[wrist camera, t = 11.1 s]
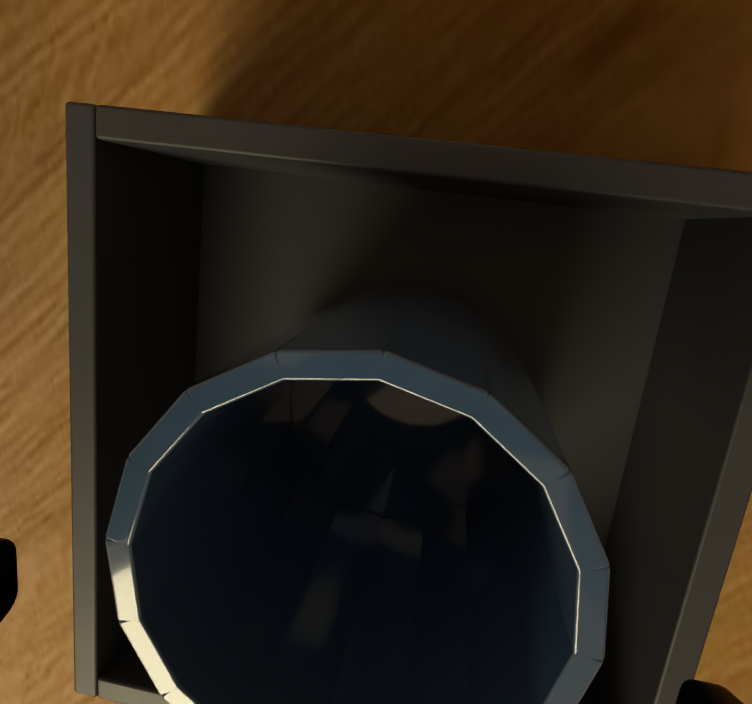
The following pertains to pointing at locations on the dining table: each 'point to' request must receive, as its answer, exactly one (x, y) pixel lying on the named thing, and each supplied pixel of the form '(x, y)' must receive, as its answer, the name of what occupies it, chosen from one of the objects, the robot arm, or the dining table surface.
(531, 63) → the dining table surface
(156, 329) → the tub
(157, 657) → the cup
